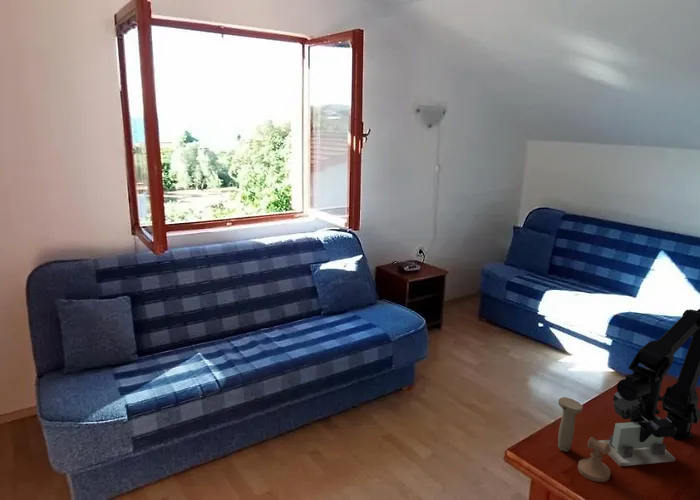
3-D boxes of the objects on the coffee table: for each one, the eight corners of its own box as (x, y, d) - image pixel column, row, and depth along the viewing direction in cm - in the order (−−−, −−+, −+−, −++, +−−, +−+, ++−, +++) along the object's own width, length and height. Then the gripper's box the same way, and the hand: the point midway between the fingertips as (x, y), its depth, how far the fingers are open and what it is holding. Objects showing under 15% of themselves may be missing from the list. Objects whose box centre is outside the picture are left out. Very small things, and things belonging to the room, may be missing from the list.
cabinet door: (655, 440, 151) (659, 419, 149) (661, 446, 149) (666, 424, 147) (611, 444, 149) (615, 423, 147) (617, 450, 147) (621, 428, 145)
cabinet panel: (650, 439, 155) (652, 427, 154) (674, 461, 146) (677, 449, 145) (598, 443, 153) (600, 431, 152) (619, 466, 143) (622, 454, 142)
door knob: (589, 427, 144) (619, 440, 139) (583, 457, 147) (613, 471, 142) (578, 440, 138) (609, 454, 133) (573, 471, 141) (604, 486, 136)
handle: (568, 457, 146) (575, 411, 142) (548, 445, 152) (555, 400, 148) (578, 452, 149) (586, 406, 145) (559, 440, 154) (566, 395, 150)
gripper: (600, 375, 152) (593, 421, 156) (644, 411, 134) (634, 462, 138) (635, 372, 153) (626, 418, 158) (683, 408, 136) (672, 459, 140)
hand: (638, 438), depth 148 cm, fingers closed on cabinet door, 2 cm apart
